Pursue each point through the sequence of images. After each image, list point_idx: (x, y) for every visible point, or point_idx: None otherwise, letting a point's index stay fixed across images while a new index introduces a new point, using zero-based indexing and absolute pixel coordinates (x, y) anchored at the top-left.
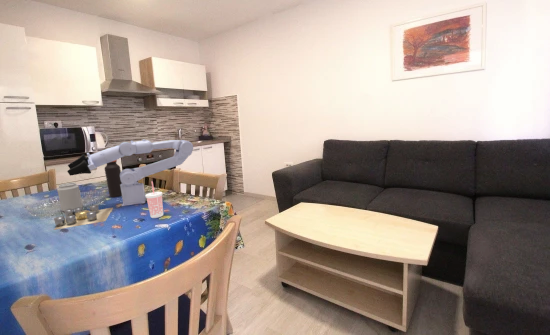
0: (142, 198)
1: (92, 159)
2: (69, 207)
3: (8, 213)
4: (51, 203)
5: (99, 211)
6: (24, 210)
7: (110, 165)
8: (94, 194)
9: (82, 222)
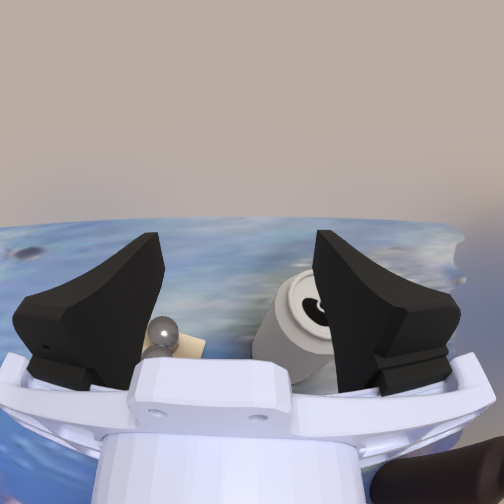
0: None
1: (103, 449)
2: (254, 339)
3: (359, 223)
4: None
5: None
6: (368, 245)
7: (497, 473)
8: None
9: None
